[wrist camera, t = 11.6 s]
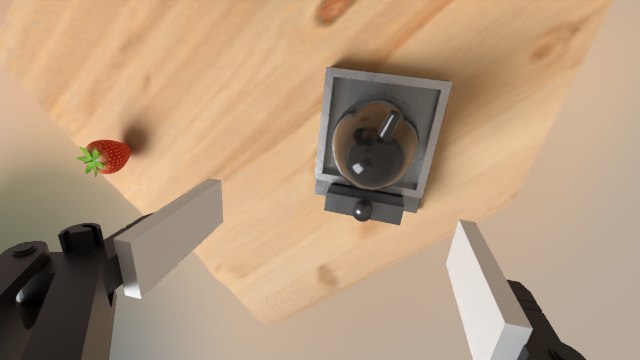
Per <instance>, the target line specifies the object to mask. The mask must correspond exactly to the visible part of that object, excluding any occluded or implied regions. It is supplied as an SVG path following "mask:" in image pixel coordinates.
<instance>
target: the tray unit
mask: <svg viewBox="0 0 640 360" xmlns="http://www.w3.org/2000/svg"><path fill="white" fill-rule="evenodd" d="M452 83H453V82H449V81H442V80H433V79H425V78H417V77H408V76H400V75H391V74H383V73H375V72H366V71H358V70H350V69H341V68H333V67H326V77H325V86H324V95H323V104H322V114H321V123H320V132H319V141H318V150H317V160H316V169H315V178H314V179H316V187H315V194H318V195H324V196H326V201H325V209H324V210H326V211H331V212H336V213H341V214H346V215H351V216H354V218H355V219H357V220H358V221H367V220H369V219H371V220H376V221H381V222H386V223H391V224H396V225H400V223H401V219H402V214H403V211H407V212H412V213H416V212H417V209H418V205H419V201H420V198H423V194H424V190H425V186H426V182H427V178H428V175H429V171H430V167H431V163H432V159H433V155H434V152H435V148H436V144H437V140H438V136H439V132H440V129H441V125H442V121H443V117H444V113H445V109H446V106H447V102H448V98H449V94H450V90H451V86H452ZM370 97H384V98H389V99H392V100H394V101H396V102H398V103H400V104H401V105H403V106H404V107H405V108H406V109H407V110H408V111H409V112H410V113H411V115H412V116H413V118H414V119H415V122H416V124H417V127H418V131H419V148H418V152H417V155H416V158H415V161H414V163H413V165H412V166H411V168H410V169H409V171H408V172H407V173H406V174H405V176H404V177H403V178H402V179H400V180H399V181H398V182H397V183H395V184H394V185H392V186H390V187H388V188H386V189H382V190H377V191H369V190H363V189H360V188H357V187H355V186H353V185H352V184H350V183H349V182H348V181H347V180H346V179H345V178H344V177H343V176H342V175H341V173H340V172H339V170H338V168H337V166H336V164H335V161H334V158H333V152H332V138H333V132H334V129H335V126H336V123H337V121H338V119H339V118H340V116H341V115H342V114H343V112H344V111H345V110H346V109H347V108H348V107H350V106H351V105H352V104H354V103H356V102H357V101H360V100H362V99H365V98H370Z"/></svg>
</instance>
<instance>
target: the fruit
mask: <svg viewBox="0 0 640 360" xmlns="http://www.w3.org/2000/svg"><path fill="white" fill-rule="evenodd" d="M79 148H80V149H81V150H82V151H83V152H84V156H85V157H79V158H77V159H79V160H82V161H86V162H85V163H88V165H87V168H86V174H87V173H89V172H90V171H91V169H92V168H93V169H94V172H95V176H96V175H97V172H100V173H103V174H112V173H115V172H117V171H119V170H120V169H121V168H122V167H123V166H124V165H125V164H126V162H127V161H128V159H129V156H130V153H131V150H130V147H129V146H128V145H126V144H124V143H121V142H117V141H112V140H98V141H94V142H92V143H90V144H89V145H88V146H87V147H86V148H85V149H84V148H81V147H79ZM83 164H84V163H83Z"/></svg>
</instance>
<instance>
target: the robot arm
mask: <svg viewBox="0 0 640 360" xmlns="http://www.w3.org/2000/svg"><path fill="white" fill-rule="evenodd" d="M222 222H223V208H222V189H221V180H215V179H207V180H206V181H204V182H203V183H201V184H199V185H198V186H196V187H195V188H193V189H192V190H190V191H188V192H187V193H185V194H184V195H182V196H180V197H179V198H177V199H176V200H174V201H172V202H171V203H169V204H168V205H166V206H164V207H163V208H161V209H160V210H158V211H157V212H155V213H151V214H148V215H145V216H142V217H141V218H139V219H137V220H136V221H134V222H133V223H131V224H129V225H128V226H126V228H123V229H121V230H119V231H118V232H116V233H115V234H113V235H111V236H110V237H108V238H106V239H105V240H103V236H102V231H101V227H100V225H98V224H95V223H83V224H78V225H74V226H71V227H68V228H66V229H65V230H63V231H61V232H60V233H59V235H58V237H59V240H60V244H61V247H62V250H63V252H49V250H48V246H47V244H46V243H45V242H42V241H32V242H24V243H20V244H18V245H16V246H14V247H11V248H9V249H8V250H6V251H4V252H3V253H2V254H1V255H0V360H109V355H110V347H111V339H112V330H113V322H114V314H115V306H116V298H117V296H116V292H115V289H117V288H118V287H119V286H120V285H122V284H123V287H124V291H125V295H128V296H131V297H136V298H140V299H141V298H143V297H144V296H145V295H146V294H147V293H148V292H149V291H150V290H151V289H152V288H153V287H154V286H156V285H157V284H158V283H159V282H160V281H161V280H162V279H163V278H164V277H165V276H166V275H167V274H168V273H169V272H170V271H171V270H172V269H173V268H175V267H176V266H177V265H178V263H180V262H181V261H182V260H183V259H184V258H185V257H186V256H187V255H188V254H190V253H191V252H192V251H193V250H194V249H195V248H196V247H197V246H198V245H199V244H200V243H201V242H202V241H203V240H204V239H205V238H207V237H208V236H209V235H210V234H211V233H212V232H213V231H214V230H215V229H216V228H217V227H218V226H219V225H220V224H221V223H222ZM446 265H447V269H448V272H449V276H450V279H451V283H452V286H453V290H454V294H455V297H456V301H457V304H458V308H459V311H460V315H461V318H462V322H463V325H464V329H465V332H466V336H467V340H468V343H469V346H470V350H471V354H472V357H473V360H586V359H585V358H584V357H583V356H582V355H581V354H580V353H579V352H577V351H576V350H575V349H573V348H572V347H570V346H568V345H566V344H564V343H562V342H561V341H560V339H559V338H558V336H557V335H556V333H555V331H554V330H553V328H552V326H551V325H550V323H549V321H548V320H547V318H546V317H545V315H544V313H542V310H541V309H540V307H539V305H538V304H537V302H536V300H535V299H534V297H533V296H532V294H531V292H530V291H529V290H527V289H526V288H525V287H524V286H523V285H522V284H521V283H520V282H517V281H511V280H506V278H505V276H504V275H503V273H502V271H501V269H500V267H499V265H498V264H497V262H496V260H495V258H494V256H493V254H492V252H491V251H490V249H489V248H488V245H487V243H486V241H485V239H484V238H483V236H482V234H481V232H480V231H479V228H478V226H477V225H476V223H475V222H471V221H465V220H459V221H458V225H457V228H456V232H455V235H454V239H453V242H452V246H451V249H450V253H449V256H448V260H447V263H446ZM15 301H16V302H15Z"/></svg>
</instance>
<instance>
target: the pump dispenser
mask: <svg viewBox="0 0 640 360" xmlns="http://www.w3.org/2000/svg"><path fill="white" fill-rule="evenodd" d="M418 148H419V131H418V127H417V124H416V122H415V119H414V118H413V116H412V115H411V113H410V112H409V111H408V110H407V109H406V108H405V107H404V106H403V105H401V104H400V103H398V102H396V101H394V100H392V99H389V98H384V97H370V98H365V99H362V100H360V101H357V102H356V103H354V104H352V105H351V106H350V107H348V108H347V109H346V110H345V111H344V112H343V114H342V115H341V116H340V118H339V119H338V121H337V123H336V126H335V129H334V132H333V138H332V152H333V158H334V161H335V164H336V166H337V168H338V170H339V172H340V173H341V175H342V176H343V177H344V178H345V179H346V180H347V181H348V182H349V183H350V184H352V185H353V186H355V187H357V188H360V189H363V190H369V191H377V190H382V189H386V188H388V187H390V186H392V185H394V184H395V183H397V182H398V181H399V180H400V179H402V178H403V177H404V176H405V174H406V173H407V172H408V171H409V169H410V168H411V166H412V165H413V163H414V161H415V158H416V155H417V152H418Z"/></svg>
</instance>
